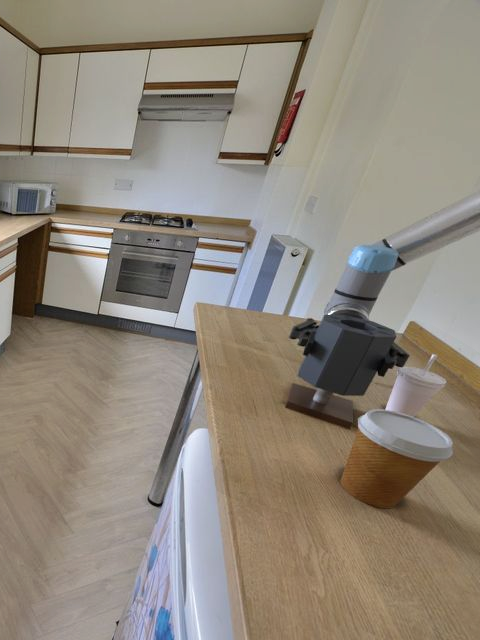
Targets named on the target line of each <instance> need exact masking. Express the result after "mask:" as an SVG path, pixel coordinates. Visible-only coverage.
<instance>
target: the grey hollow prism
mask: <svg viewBox="0 0 480 640" xmlns="http://www.w3.org/2000/svg"><path fill="white" fill-rule="evenodd" d="M319 324H320V325H319V327H318V329H317V331H316V334H315V338H314V344H313V346H312V348H311V350H310V352H309V354H308V356H305V355H304V358H303V360H302V362H301V364H300V366H299V369H298V372H297V377H298V378H300V379H301V380H303V381H305V382H306V383H307V384H310V385H311V386H312V387H314V388H316V389H318V388H320V389H323V390H326V391H329V392H333V394H337V395H338V396H339V395H340V396H343V397H363V396H365V395H366V393H367V391H368V389H369V387H370V385H371V383H372V382H373V380H374V378H375V376H376V375H377V374H378V372H377V371H378V369H379V367H380V365H381V363H382V362H383V360H384V358H385V356H386V355H387V353H388V351H389V349H390V348H391V346H392V344H393V342H395V340H396V339H397V334H396V330H395V329H392V328H390V327H388V326H386V325H383V324H380V323H378V322H376V321H373V320H370V319H369V320H365V319H360V318H355V317H351V316H346V315H324V314H323V316H322V319H321V321H320V323H319Z"/></svg>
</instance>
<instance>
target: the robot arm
mask: <svg viewBox="0 0 480 640" xmlns="http://www.w3.org/2000/svg"><path fill="white" fill-rule="evenodd" d="M478 232H480V189H479V190H477V191H475V192H473V193H471V194H469V195H467V196H465V197H463V198H461V199H459V200H457V201H455V202H453V203H451V204H450V205H448V206H446V207H443V208H441V209H440V210H438V211H436V212H434V213H431V214H430V215H428V216H426V217H424V218H422V219H420V220H418V221H416V222H413V223H412V224H410V225H408V226H406V227H404V228H402V229H400V230H398V231H396V232H394V233H392V234H390V235H388V236H386V237H385V238H383V239H381V240H379V241H376V242H374V243H373V244H359V245H357V246H356V247H354V248H353V250H352V252H351V254H350V255H349V257H348V259H347V262H346V264H345V267H344V269H343V271H342V273H341V276H340V278H339V281H338V282H337V285H336V288H335V289H334V291H333V293H332V295H331V297H330V300H329V301H328V302H327V303H326V306H325V308H324V310H323V311H324V312H323V313H324V314H323V316H324V315H346V316H351V317H355V318H360V319H365V320H369V321H370V314H371V312H372V310H373V308H374V306H375V304H376V302H377V300H378V298H379V295H380V293H381V291H382V290H383V287H384V286H385V284H386V282H387V280H388V279H389V276H390V274H391V272H393V271H395V270H398V269H399V268H401V267H404V266H406V265H407V264H409V263H412V262H413V261H416V260H418V259H420V258H423V257H425V256H427V255H429V254H431V253H434V252H436V251H438V250H440V249H443V248H445V247H447V246H449V245H452V244H454V243H456V242H458V241H461V240H462V239H465V238H467V237H469V236H471V235H474V234H475V233H478ZM319 325H320V323H318V321H315V319H314V318H312V317H308V318H307V319H306V321H304V322H301V323H298V324H296V325H294V326H292V328H291V331H290V334H289V335H288V338H289V339H290V340H298V342H297V346H299V347H302V348H303V347H304V349H303V352H302V356H304V357H305V356H308V354H309V352H310V350H311V348H312V346H313V344H314V338H315V334H316V331H317V329H318V327H319ZM410 356H411V355H410V354H409V353H408V352H407V351H406V350H405V349H403V348H402V347H401V346H400V345H398V344H397V343H396V342H395V341H394V342H393V344H392V346H391V348H390V349H389V351H388V353H387V355H386V356H385V358H384V360H383V362H382V363H381V365H380V367H379V369H378V371H377V376H379V377H381V378H384V377H385V376H386V374H387V372H388V371H389V369H390V370H393V369H394V368H395V367H397V368H400V367H405V365H406V363H407V362H408V360H409V358H410Z"/></svg>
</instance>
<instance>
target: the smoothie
mask: <svg viewBox="0 0 480 640" xmlns="http://www.w3.org/2000/svg"><path fill="white" fill-rule="evenodd" d="M437 357H438V354H435V353H432V355H431V357H430V358H429V360H428V362H427V363H426V365H425V367H424V368H418V367H414V366H403V367H398V369H397V370H396V374H397V377H396V379H395V382H394V385H393V387H392V390H391V393H390V395H389V398H388V401H387V404H386V406H385V409H384V410H390V411H395V412H399V413H402V414H406V415H409V416H412V417H414V418H416V417H415V416H417V414H419V412H420V411H421V410H422V409H423V408H424V407H425V406H426V404H427V403H428V402H429V401H430V400H431V399H432V398H433V397H434V396H435V394H436V393H437V392H438V391H439V390H440V389H442V388H445V385H446V384H447V379H445V378H444V377H443V376H441V375H439V374H437V373H434V372H432V371H429V370H430V368H431V366H432V365H433V363H434V362H435V360H436V358H437Z"/></svg>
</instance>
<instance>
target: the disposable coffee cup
mask: <svg viewBox="0 0 480 640" xmlns="http://www.w3.org/2000/svg"><path fill="white" fill-rule="evenodd" d="M357 426H358V429H357V432H356V435H355V438H354V440H353V443H352V445H351V450H350V452H349V454H348V458H347V460H346V463H345V467H344V470H343V472H342V475H341V478H340V479H339V480H340V481H339V482H340V485H341V487H342V488H343V489H344V491H346V492H347V493H348V494H350V495H351V496H352V497H354V498H355V499H357V500H359V501H361V502H363V503H365V504H367V505H369V506H373V507H376V508H379V509H393V508H395V507H396V506H397V505H398V504H399V503H400V502H401V501H402V500H403V499H404V498H405V497H406V496H407V495H408V494H409V493H410V491H412V490H413V489H414V488H415V487H416V486H417V485H418V484H419V483H420V482H421V481H422V480H424V479H425V477H426V476H427V475H428V474H429V473H430V472H432V471H433V469H435V467H436V466H438V465H439V463H440V462H443V461H445V460H448V459H449V458H451V457H452V456H453V454H454V451H453V445H454V442H453V439H452V438H451V437H450V436H449V435H448V434H447V433H445V432H444V431H442V430H441V429H440V428H438V427H436V426H435V425H432V424H431V423H429V422H426V421H425V420H422V419H419V418H418V417H412V416H409V415H406V414H402V413H399V412H395V411H390V410H385V409H381V408H374V409H370V410H368V411H367V412H366V413H365V414H363V415H360V416H359V417H358V418H357Z"/></svg>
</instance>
